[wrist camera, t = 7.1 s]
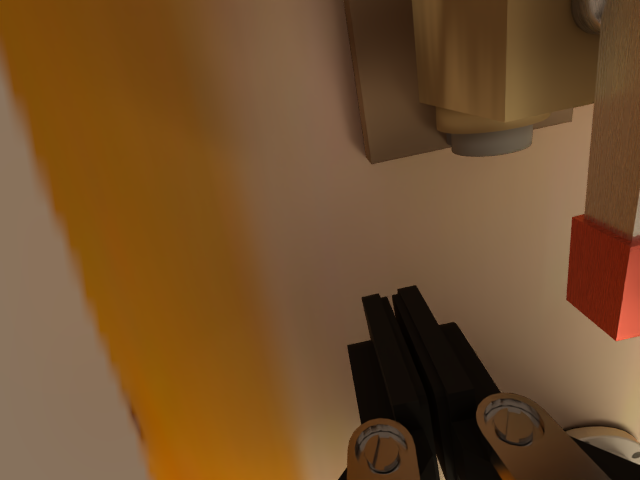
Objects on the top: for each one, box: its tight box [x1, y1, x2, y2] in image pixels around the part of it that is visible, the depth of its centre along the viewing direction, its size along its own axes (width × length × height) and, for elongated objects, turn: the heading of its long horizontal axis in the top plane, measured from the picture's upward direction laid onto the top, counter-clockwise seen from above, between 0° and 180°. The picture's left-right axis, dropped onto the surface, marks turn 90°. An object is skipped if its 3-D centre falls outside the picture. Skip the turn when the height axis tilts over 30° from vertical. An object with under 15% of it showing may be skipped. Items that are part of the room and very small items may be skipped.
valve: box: [344, 0, 600, 164], centre depth 13 cm, size 10×10×9 cm
